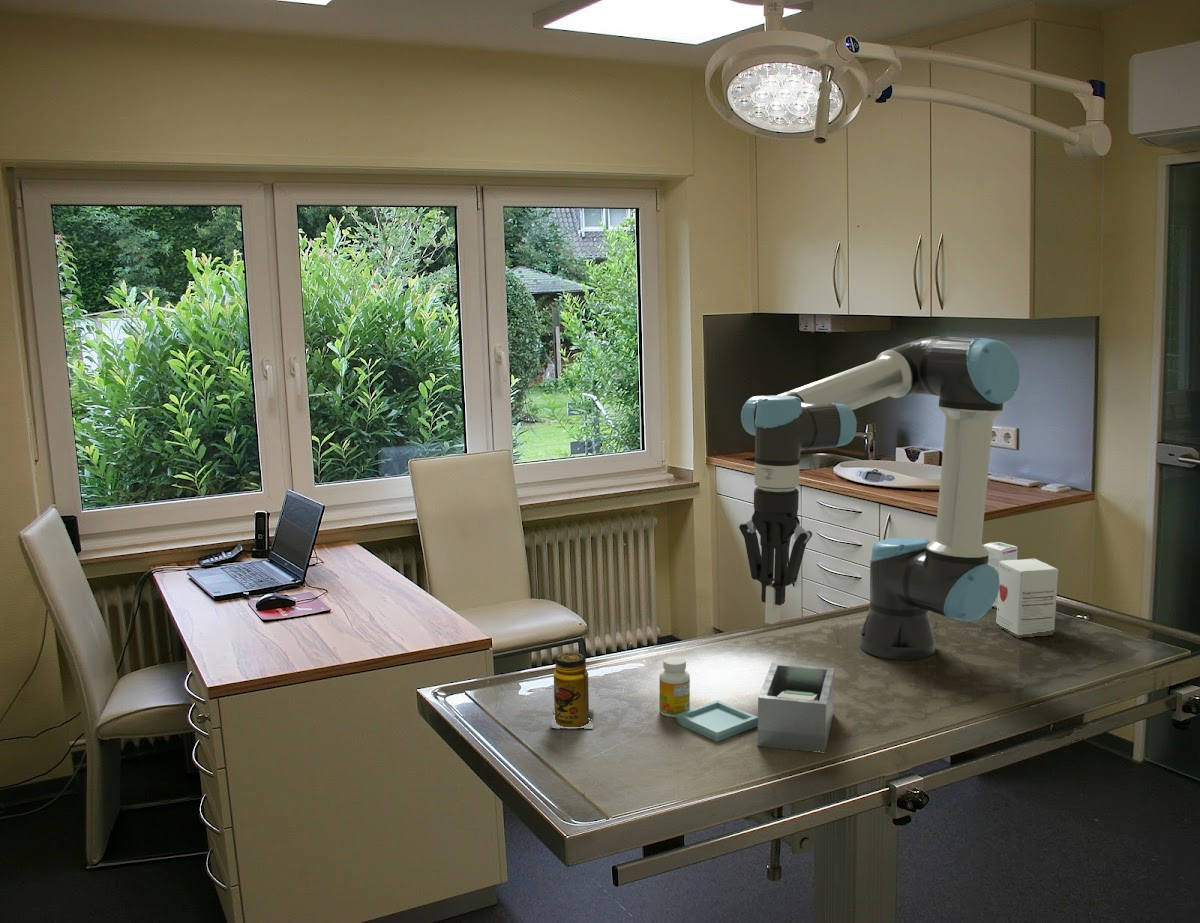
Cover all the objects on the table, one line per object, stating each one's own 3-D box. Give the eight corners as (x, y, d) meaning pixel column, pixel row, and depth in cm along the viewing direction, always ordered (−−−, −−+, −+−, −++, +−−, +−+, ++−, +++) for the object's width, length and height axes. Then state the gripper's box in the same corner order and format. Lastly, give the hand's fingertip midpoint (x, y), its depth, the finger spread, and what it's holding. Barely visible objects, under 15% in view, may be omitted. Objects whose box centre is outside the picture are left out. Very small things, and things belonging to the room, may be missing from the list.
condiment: (550, 730, 191) (549, 663, 189) (553, 710, 200) (552, 647, 198) (593, 730, 191) (592, 663, 189) (593, 710, 200) (593, 646, 197)
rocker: (780, 700, 195) (780, 689, 195) (819, 704, 193) (820, 693, 193) (773, 707, 186) (774, 695, 186) (814, 711, 184) (815, 699, 184)
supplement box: (994, 625, 244) (997, 559, 241) (1031, 623, 245) (1035, 557, 243) (1016, 639, 235) (1020, 570, 232) (1055, 636, 237) (1059, 568, 234)
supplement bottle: (654, 708, 200) (654, 657, 198) (681, 704, 202) (681, 653, 200) (666, 720, 195) (666, 667, 193) (694, 715, 197) (694, 663, 195)
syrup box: (1015, 606, 257) (1019, 545, 255) (998, 610, 254) (1001, 549, 252) (995, 600, 262) (999, 540, 260) (978, 604, 259) (981, 543, 257)
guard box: (771, 707, 200) (772, 662, 199) (833, 713, 197) (834, 668, 196) (757, 746, 184) (758, 697, 183) (824, 753, 181) (826, 704, 179)
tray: (717, 708, 200) (717, 700, 199) (758, 725, 192) (758, 717, 192) (676, 723, 194) (676, 714, 193) (717, 741, 186) (717, 732, 186)
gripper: (731, 486, 188) (728, 619, 192) (801, 495, 181) (796, 634, 185) (753, 479, 194) (749, 609, 198) (821, 488, 187) (816, 623, 191)
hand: (772, 621), depth 192 cm, fingers closed
